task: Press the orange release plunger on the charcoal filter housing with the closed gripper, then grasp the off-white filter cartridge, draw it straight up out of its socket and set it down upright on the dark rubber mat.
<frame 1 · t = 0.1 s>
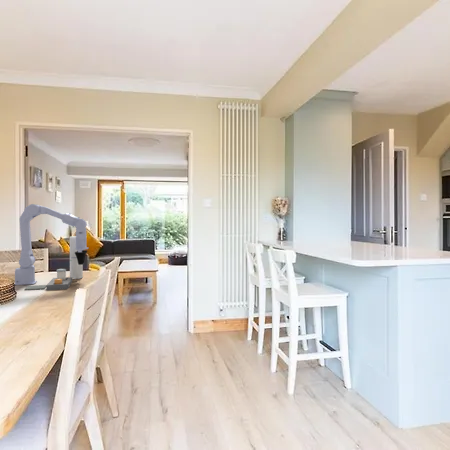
hand: (81, 263, 208), 10 cm above the table, fingers open, 7 cm apart
filter cartridge: (61, 283, 200), resting in filter housing
release plunger: (58, 282, 188), point 3 cm above the table, slide at 0.0 cm
filter housing: (60, 285, 195), on the table
cylindrical container: (76, 278, 219), on the table
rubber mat: (36, 288, 188), on the table
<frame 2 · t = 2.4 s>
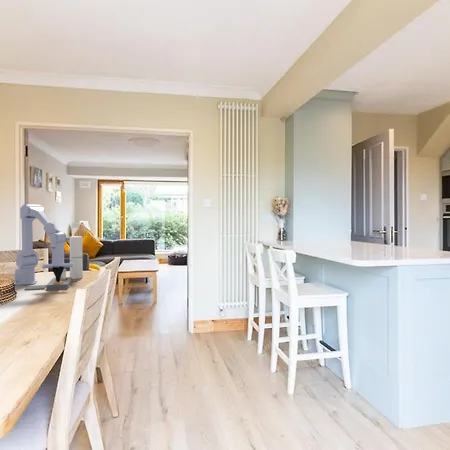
hand: (58, 281, 188), 3 cm above the table, fingers closed, pressing on release plunger
release plunger: (58, 284, 188), point 2 cm above the table, slide at 1.1 cm, touching gripper
everything else where it was.
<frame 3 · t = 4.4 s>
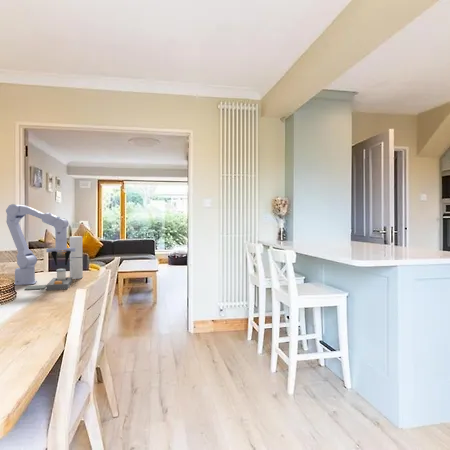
hand: (61, 265, 199), 10 cm above the table, fingers open, 4 cm apart
release plunger: (58, 284, 188), point 2 cm above the table, slide at 1.0 cm
everything else where it was.
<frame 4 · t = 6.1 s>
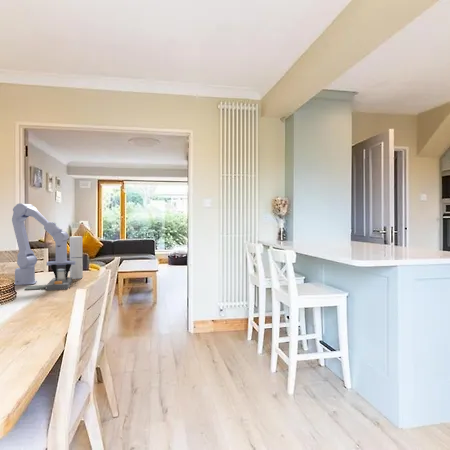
hand: (61, 278, 199), 3 cm above the table, fingers closed on filter cartridge, 5 cm apart
filter cartridge: (61, 283, 200), resting in filter housing, touching gripper
everything else where it was.
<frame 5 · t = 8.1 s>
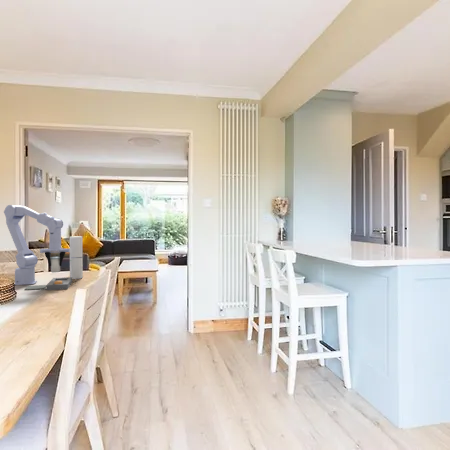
hand: (55, 265, 196), 10 cm above the table, fingers closed on filter cartridge, 5 cm apart
filter cartridge: (55, 271, 197), point 7 cm above the table, touching gripper
everything else where it was.
when the fingers open (6 cm above the table, at t = 10.1 s): filter cartridge drops 2 cm, resting on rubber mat.
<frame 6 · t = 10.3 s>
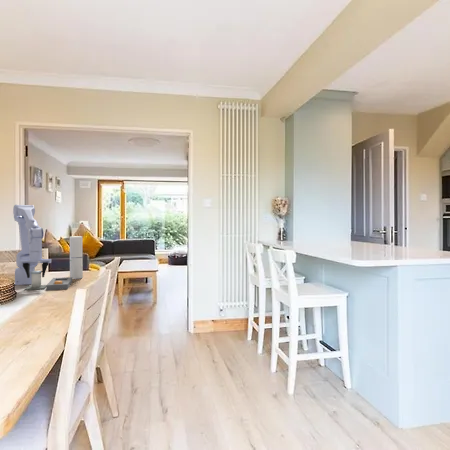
hand: (35, 277, 188), 6 cm above the table, fingers open, 6 cm apart
filter cartridge: (36, 286, 188), point 1 cm above the table, touching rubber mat
everything else where it was.
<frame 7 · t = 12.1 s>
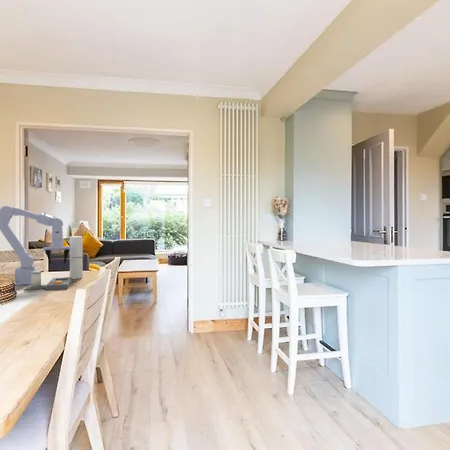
hand: (57, 263, 207), 10 cm above the table, fingers open, 7 cm apart
nothing on the table moved.
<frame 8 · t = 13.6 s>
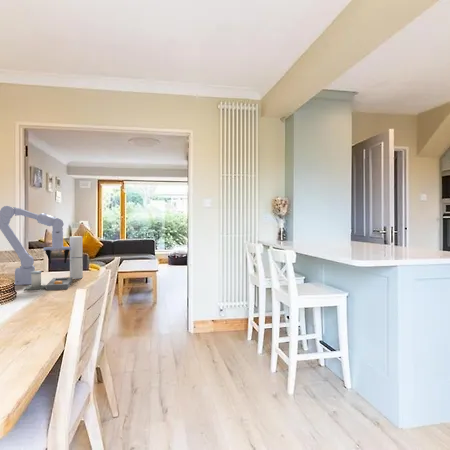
hand: (57, 263, 207), 10 cm above the table, fingers open, 7 cm apart
nothing on the table moved.
at the end: filter cartridge inside the target area on the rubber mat (0.1 cm from its centre), point 0.6 cm above the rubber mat's base; filter cartridge tilted 0°; the gripper is holding nothing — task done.
